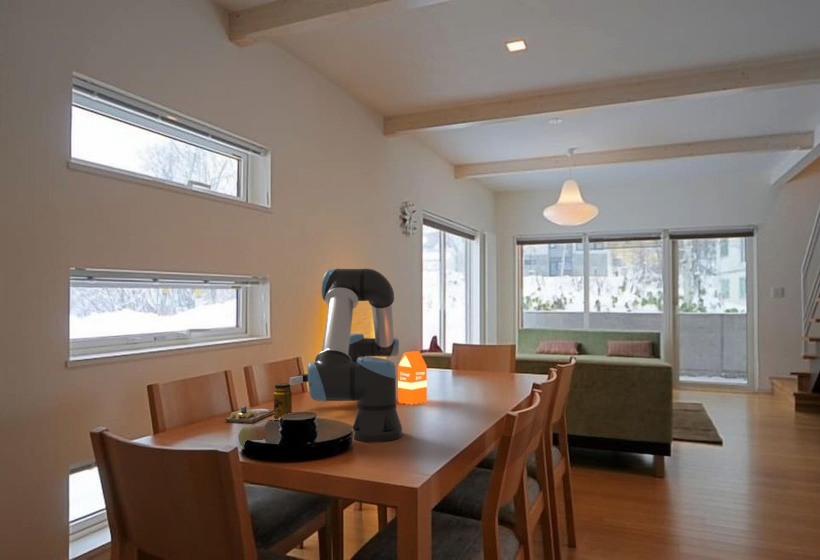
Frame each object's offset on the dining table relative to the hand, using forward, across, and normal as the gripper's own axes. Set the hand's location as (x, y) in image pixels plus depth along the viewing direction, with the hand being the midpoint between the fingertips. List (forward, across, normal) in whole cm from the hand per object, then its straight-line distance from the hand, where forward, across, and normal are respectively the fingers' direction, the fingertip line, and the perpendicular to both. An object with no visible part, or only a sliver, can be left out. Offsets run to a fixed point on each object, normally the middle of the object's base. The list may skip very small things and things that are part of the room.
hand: (303, 383), depth 198 cm
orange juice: (-36, -25, -11) cm, 45 cm away
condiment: (+10, 0, -11) cm, 15 cm away
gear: (+19, +11, -9) cm, 23 cm away
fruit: (+43, -20, -10) cm, 48 cm away
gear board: (+15, +11, -11) cm, 22 cm away
